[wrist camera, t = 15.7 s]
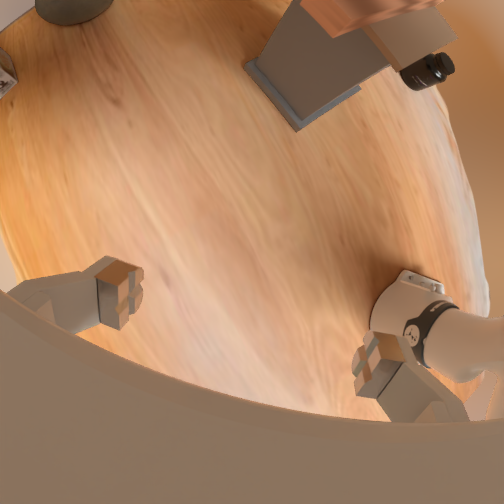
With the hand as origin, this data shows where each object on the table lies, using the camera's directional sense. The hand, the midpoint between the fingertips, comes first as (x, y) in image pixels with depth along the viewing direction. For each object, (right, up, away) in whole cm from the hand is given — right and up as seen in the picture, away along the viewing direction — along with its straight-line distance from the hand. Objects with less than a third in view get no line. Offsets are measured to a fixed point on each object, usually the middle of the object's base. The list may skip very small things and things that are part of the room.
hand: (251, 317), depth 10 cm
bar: (+13, +27, +7) cm, 31 cm away
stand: (+9, +32, +33) cm, 47 cm away
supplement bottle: (+35, +41, +38) cm, 66 cm away
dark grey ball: (-31, +46, +22) cm, 59 cm away
